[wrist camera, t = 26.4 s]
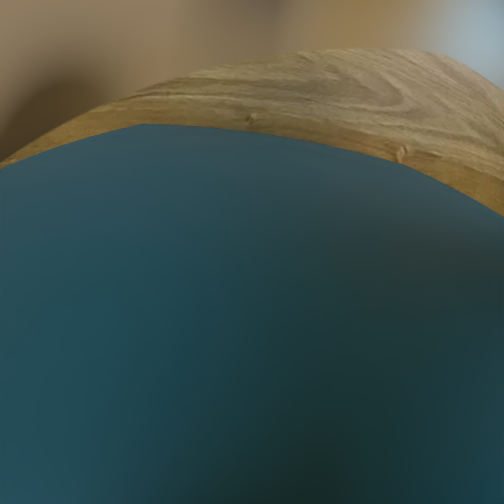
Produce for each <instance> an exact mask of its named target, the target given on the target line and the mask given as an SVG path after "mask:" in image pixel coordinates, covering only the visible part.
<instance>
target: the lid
mask: <svg viewBox="0 0 504 504" xmlns="http://www.w3.org/2000/svg"><path fill="white" fill-rule="evenodd" d="M0 504H504V217H503V216H501V215H499V214H498V213H496V212H494V211H493V210H491V209H489V208H488V207H486V206H484V205H483V204H481V203H479V202H477V201H476V200H474V199H472V198H470V197H469V196H467V195H465V194H463V193H461V192H459V191H457V190H456V189H454V188H452V187H450V186H448V185H446V184H444V183H442V182H440V181H438V180H436V179H434V178H432V177H430V176H428V175H426V174H423V173H421V172H419V171H417V170H415V169H413V168H410V167H408V166H406V165H403V164H399V163H396V162H392V161H389V160H385V159H381V158H378V157H374V156H370V155H366V154H362V153H358V152H354V151H350V150H346V149H341V148H337V147H332V146H328V145H323V144H318V143H313V142H308V141H303V140H297V139H292V138H286V137H280V136H273V135H267V134H260V133H253V132H245V131H237V130H228V129H219V128H208V127H196V126H182V125H163V124H140V125H135V126H131V127H127V128H122V129H118V130H114V131H110V132H106V133H102V134H99V135H95V136H92V137H88V138H85V139H81V140H78V141H75V142H71V143H68V144H65V145H62V146H59V147H56V148H53V149H50V150H47V151H44V152H42V153H39V154H36V155H34V156H31V157H28V158H26V159H23V160H21V161H18V162H16V163H13V164H11V165H9V166H6V167H4V168H2V169H0Z"/></svg>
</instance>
